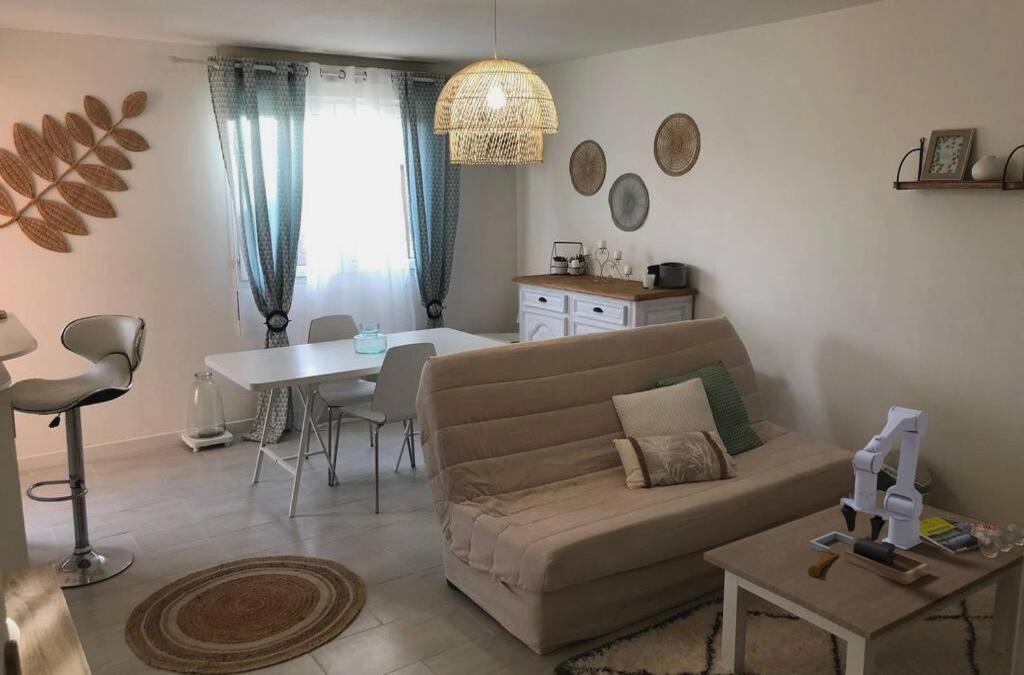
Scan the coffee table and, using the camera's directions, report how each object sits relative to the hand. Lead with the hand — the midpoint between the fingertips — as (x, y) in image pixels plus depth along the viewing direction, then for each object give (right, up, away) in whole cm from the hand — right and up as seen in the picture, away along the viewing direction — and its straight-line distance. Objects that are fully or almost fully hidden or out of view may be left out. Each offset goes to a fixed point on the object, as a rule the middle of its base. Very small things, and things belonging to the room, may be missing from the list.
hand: (862, 535), depth 244 cm
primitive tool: (-11, -10, +5) cm, 15 cm away
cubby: (+7, -10, +2) cm, 12 cm away
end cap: (+5, -10, +5) cm, 12 cm away
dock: (-3, -7, +16) cm, 18 cm away
